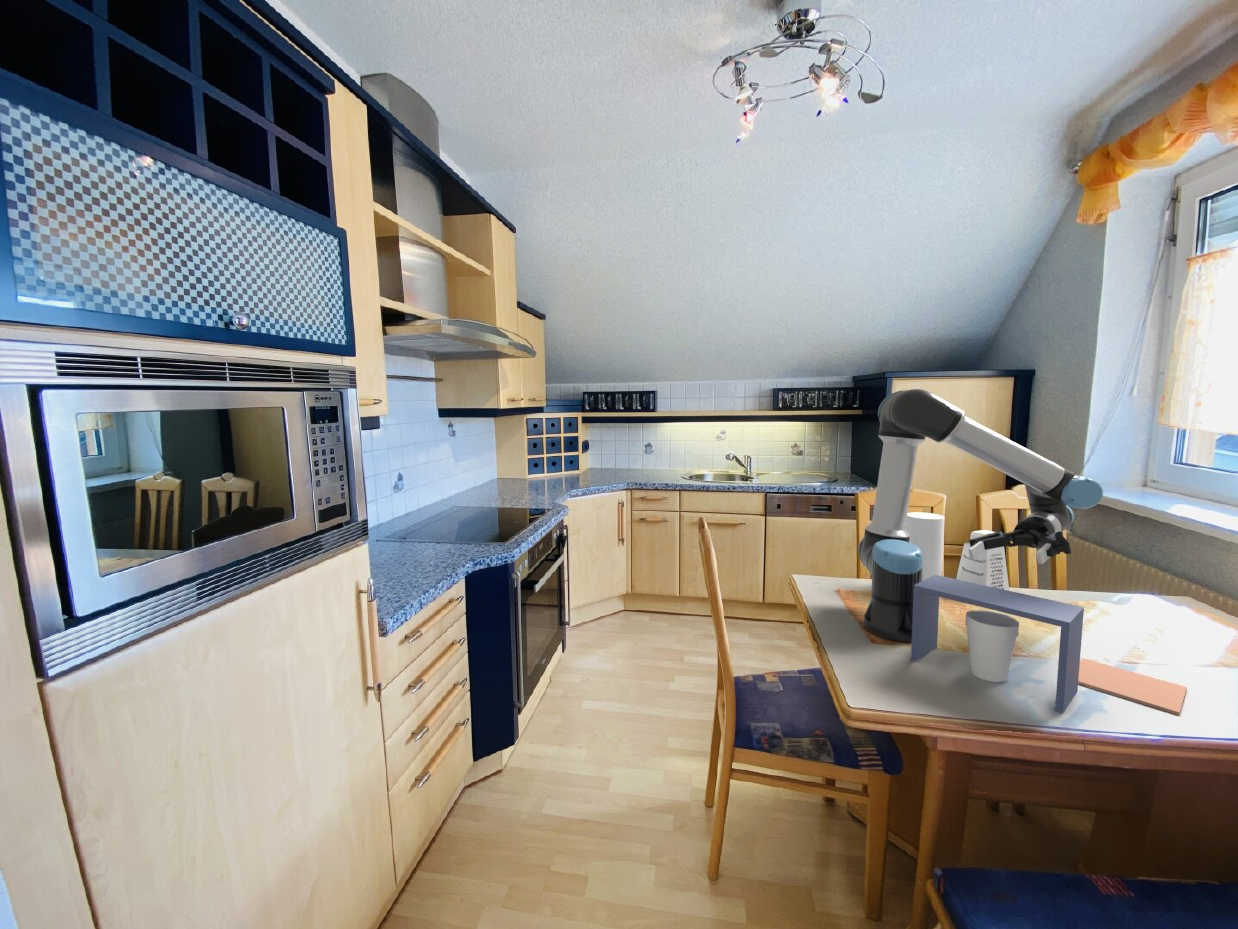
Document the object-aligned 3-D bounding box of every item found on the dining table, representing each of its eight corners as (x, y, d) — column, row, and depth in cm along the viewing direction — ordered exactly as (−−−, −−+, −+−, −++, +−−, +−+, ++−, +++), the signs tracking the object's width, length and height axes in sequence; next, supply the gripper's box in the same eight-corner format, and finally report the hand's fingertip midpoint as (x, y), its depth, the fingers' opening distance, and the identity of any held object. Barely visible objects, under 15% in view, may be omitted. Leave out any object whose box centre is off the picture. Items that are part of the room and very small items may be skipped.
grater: (1010, 596, 156) (1013, 534, 155) (985, 600, 153) (989, 537, 151) (977, 585, 166) (980, 527, 164) (953, 589, 163) (956, 529, 161)
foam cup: (998, 690, 104) (1002, 630, 103) (953, 669, 113) (956, 614, 111) (1025, 680, 108) (1028, 622, 107) (979, 661, 116) (982, 607, 115)
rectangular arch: (910, 659, 117) (913, 585, 116) (931, 645, 125) (934, 574, 123) (1063, 713, 96) (1069, 622, 94) (1077, 691, 103) (1083, 607, 101)
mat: (1068, 680, 107) (1068, 678, 107) (1082, 660, 116) (1083, 658, 116) (1179, 715, 94) (1179, 712, 94) (1186, 689, 103) (1186, 687, 103)
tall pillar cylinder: (901, 583, 170) (904, 511, 168) (938, 587, 165) (941, 513, 163) (904, 593, 160) (907, 517, 158) (943, 597, 156) (947, 519, 153)
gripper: (1105, 546, 118) (1075, 576, 106) (984, 542, 139) (949, 567, 128) (1098, 515, 117) (1068, 543, 106) (979, 516, 139) (943, 539, 127)
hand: (1003, 556), depth 117 cm, fingers open, 13 cm apart
